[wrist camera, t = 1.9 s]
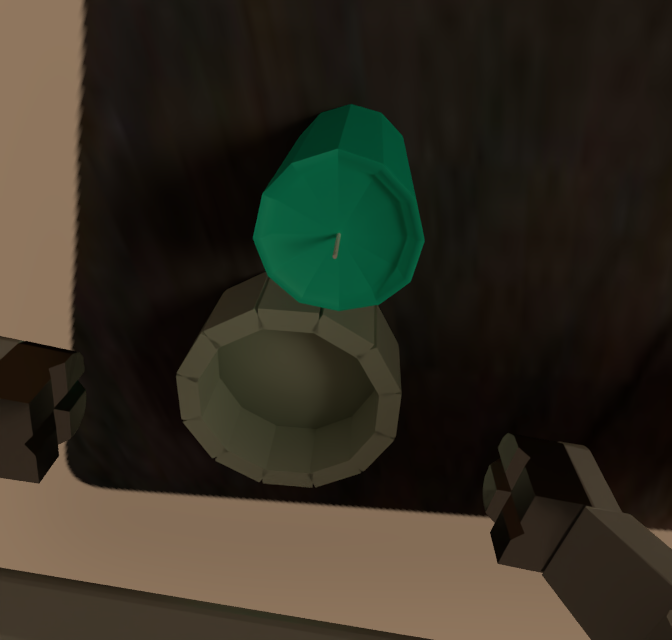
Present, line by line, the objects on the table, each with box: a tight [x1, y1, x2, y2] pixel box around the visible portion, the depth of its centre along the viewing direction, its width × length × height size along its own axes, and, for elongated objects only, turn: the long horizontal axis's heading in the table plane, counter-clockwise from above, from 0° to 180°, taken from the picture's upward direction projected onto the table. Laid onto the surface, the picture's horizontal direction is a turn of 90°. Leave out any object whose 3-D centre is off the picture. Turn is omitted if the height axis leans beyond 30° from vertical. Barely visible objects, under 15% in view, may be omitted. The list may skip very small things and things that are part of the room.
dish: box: [176, 272, 402, 488], centre depth 32 cm, size 12×12×5 cm
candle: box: [253, 104, 425, 311], centre depth 22 cm, size 6×6×12 cm
